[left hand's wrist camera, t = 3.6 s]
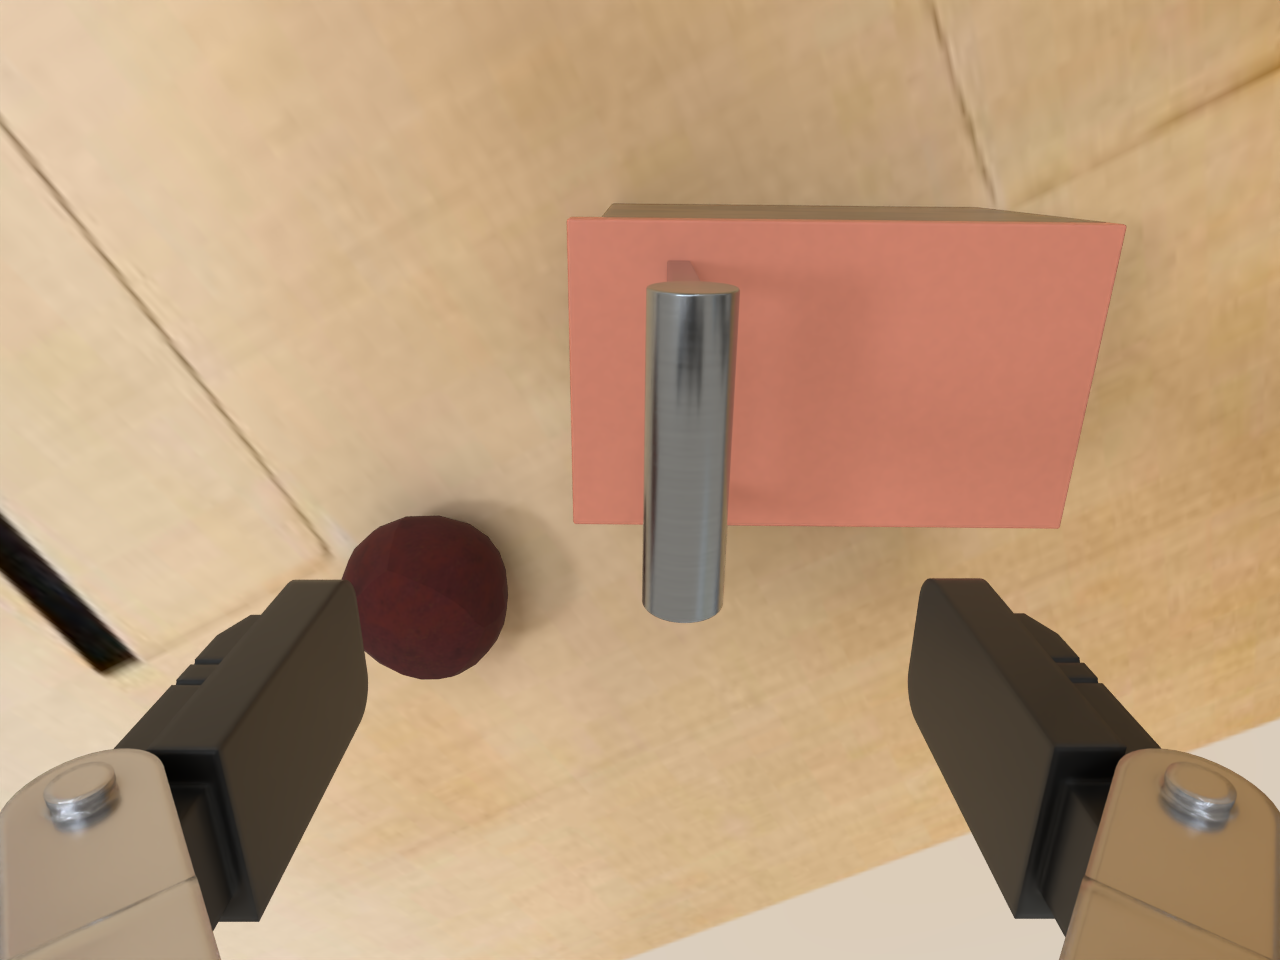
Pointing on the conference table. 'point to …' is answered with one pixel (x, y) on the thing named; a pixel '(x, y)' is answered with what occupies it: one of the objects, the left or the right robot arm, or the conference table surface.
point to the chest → (827, 213)
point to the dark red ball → (428, 595)
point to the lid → (825, 378)
